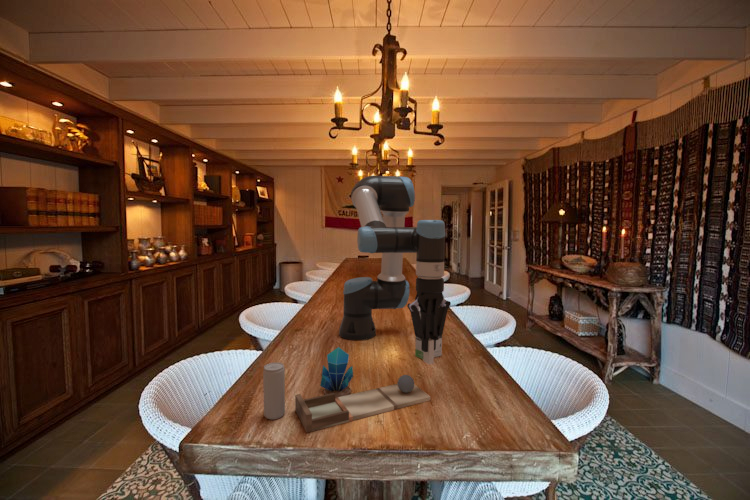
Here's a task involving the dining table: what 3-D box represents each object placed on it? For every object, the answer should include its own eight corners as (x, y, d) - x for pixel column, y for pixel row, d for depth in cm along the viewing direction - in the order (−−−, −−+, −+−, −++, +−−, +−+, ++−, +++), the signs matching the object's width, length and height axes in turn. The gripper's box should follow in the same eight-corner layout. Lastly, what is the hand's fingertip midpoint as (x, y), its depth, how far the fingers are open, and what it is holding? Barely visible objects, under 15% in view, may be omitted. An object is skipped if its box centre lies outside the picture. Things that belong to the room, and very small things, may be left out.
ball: (394, 389, 94) (394, 373, 94) (408, 386, 96) (408, 370, 96) (402, 397, 90) (403, 380, 90) (417, 393, 92) (417, 377, 92)
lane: (295, 410, 85) (295, 394, 85) (409, 384, 100) (410, 370, 100) (306, 432, 76) (306, 415, 76) (430, 400, 91) (430, 385, 91)
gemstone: (323, 386, 98) (323, 344, 97) (353, 387, 98) (353, 345, 97) (317, 399, 91) (317, 354, 90) (351, 400, 91) (351, 355, 90)
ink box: (423, 360, 118) (424, 326, 117) (414, 355, 122) (415, 322, 121) (442, 355, 122) (443, 322, 121) (432, 351, 126) (433, 319, 126)
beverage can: (266, 409, 85) (265, 362, 85) (286, 409, 86) (286, 361, 85) (261, 421, 81) (261, 370, 80) (282, 420, 81) (282, 370, 80)
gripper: (417, 280, 88) (415, 371, 89) (458, 277, 94) (456, 363, 95) (402, 276, 95) (400, 361, 96) (440, 274, 101) (439, 354, 102)
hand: (428, 362), depth 96 cm, fingers closed
